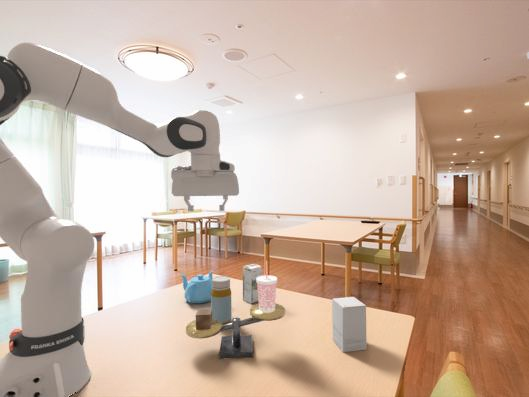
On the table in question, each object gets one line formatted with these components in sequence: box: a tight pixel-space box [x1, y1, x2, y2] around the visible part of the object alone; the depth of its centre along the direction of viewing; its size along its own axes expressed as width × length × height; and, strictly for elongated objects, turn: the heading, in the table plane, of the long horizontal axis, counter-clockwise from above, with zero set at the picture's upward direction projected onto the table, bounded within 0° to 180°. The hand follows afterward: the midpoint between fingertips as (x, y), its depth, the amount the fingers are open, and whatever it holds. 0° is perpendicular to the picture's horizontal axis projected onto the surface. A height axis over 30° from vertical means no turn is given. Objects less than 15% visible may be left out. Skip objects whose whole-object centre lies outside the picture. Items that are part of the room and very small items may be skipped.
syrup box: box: [242, 263, 263, 305], centre depth 115 cm, size 6×6×14 cm
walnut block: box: [195, 308, 212, 330], centre depth 79 cm, size 4×4×4 cm
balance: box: [185, 302, 286, 360], centre depth 79 cm, size 28×10×11 cm, turn 95°
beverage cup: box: [256, 260, 278, 313], centre depth 80 cm, size 6×6×14 cm
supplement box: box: [331, 296, 367, 353], centre depth 81 cm, size 7×7×13 cm
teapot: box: [180, 269, 214, 304], centre depth 118 cm, size 15×15×10 cm
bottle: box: [210, 275, 233, 325], centre depth 96 cm, size 7×7×15 cm
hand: (206, 211), depth 86 cm, fingers open, 8 cm apart
